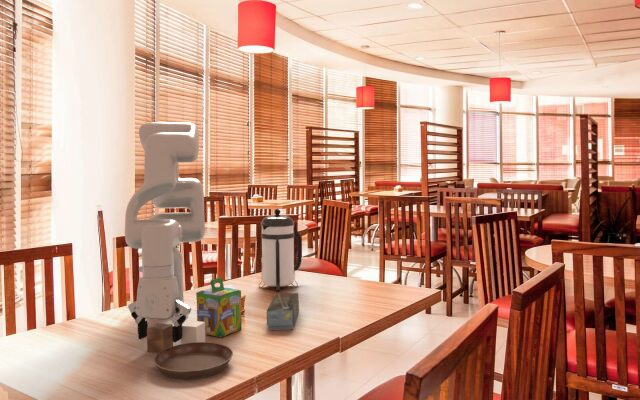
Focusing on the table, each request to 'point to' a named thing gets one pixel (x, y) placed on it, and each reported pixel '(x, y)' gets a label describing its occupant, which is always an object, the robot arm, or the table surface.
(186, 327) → the cream block
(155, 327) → the walnut block
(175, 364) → the plant saucer
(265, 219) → the coffee press
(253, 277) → the table surface
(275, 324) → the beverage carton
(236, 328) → the chalk box
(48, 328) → the table surface
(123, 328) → the table surface
